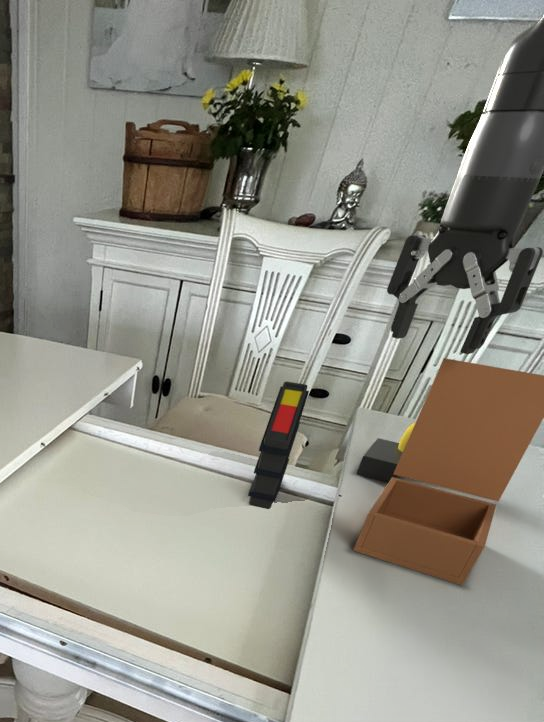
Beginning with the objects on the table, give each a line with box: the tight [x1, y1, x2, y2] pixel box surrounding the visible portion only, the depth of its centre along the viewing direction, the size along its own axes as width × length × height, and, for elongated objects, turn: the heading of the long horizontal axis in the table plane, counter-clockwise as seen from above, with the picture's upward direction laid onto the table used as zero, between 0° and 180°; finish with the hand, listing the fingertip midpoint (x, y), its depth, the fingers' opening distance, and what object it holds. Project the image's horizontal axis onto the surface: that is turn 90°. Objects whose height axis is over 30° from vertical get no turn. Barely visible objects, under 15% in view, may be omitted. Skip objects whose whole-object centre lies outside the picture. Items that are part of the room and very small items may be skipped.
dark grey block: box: [355, 437, 403, 483], centre depth 95 cm, size 6×10×3 cm, turn 145°
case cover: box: [394, 357, 544, 502], centre depth 75 cm, size 14×13×6 cm
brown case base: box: [352, 477, 498, 586], centre depth 74 cm, size 14×13×5 cm
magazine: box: [247, 381, 310, 510], centre depth 82 cm, size 4×13×15 cm, turn 156°
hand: (431, 345), depth 70 cm, fingers open, 8 cm apart
